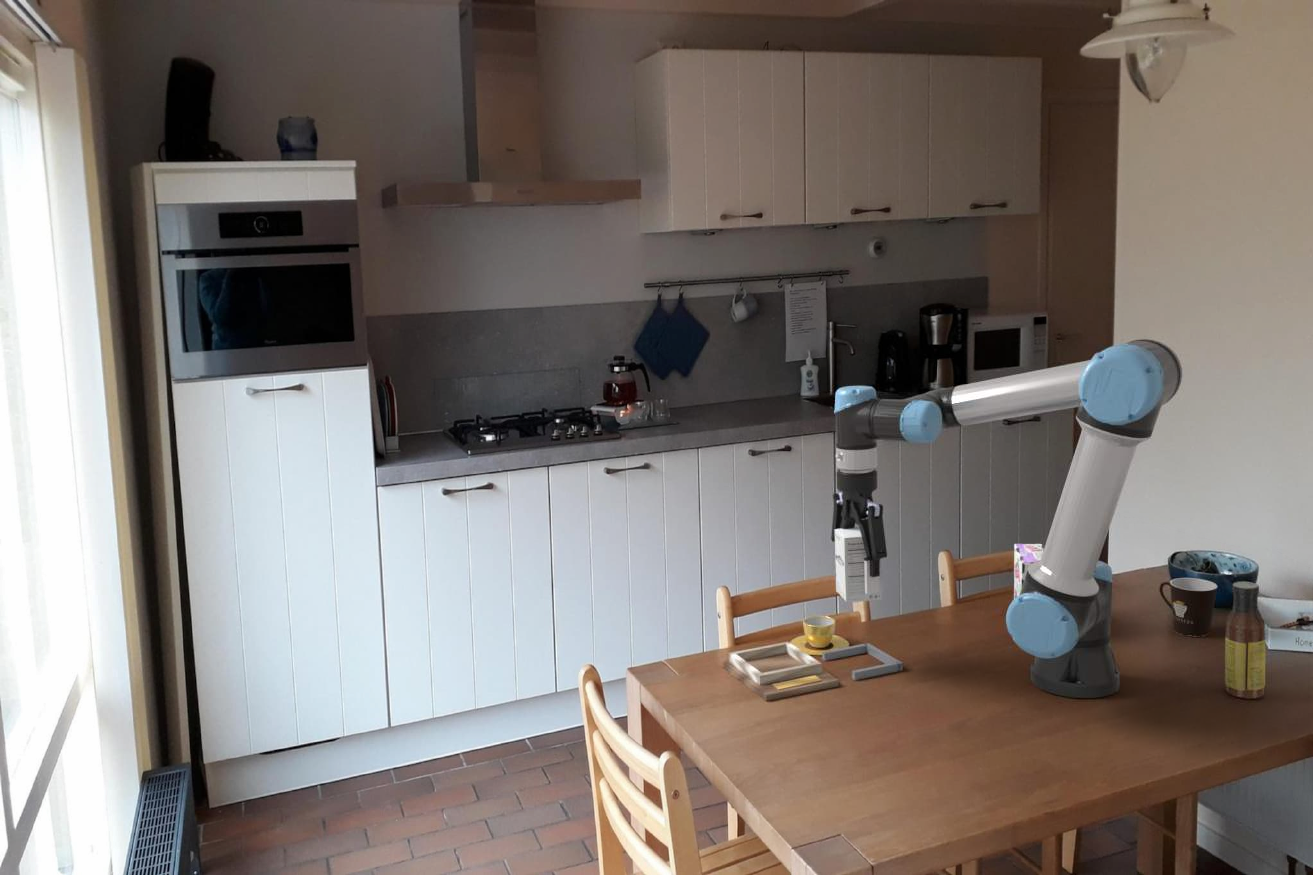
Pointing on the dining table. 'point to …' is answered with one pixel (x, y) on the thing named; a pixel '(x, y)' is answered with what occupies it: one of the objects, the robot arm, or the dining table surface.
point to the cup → (819, 635)
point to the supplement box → (852, 566)
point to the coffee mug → (1191, 604)
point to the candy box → (1024, 562)
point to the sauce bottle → (1245, 644)
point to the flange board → (779, 671)
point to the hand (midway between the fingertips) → (859, 586)
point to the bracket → (890, 662)
